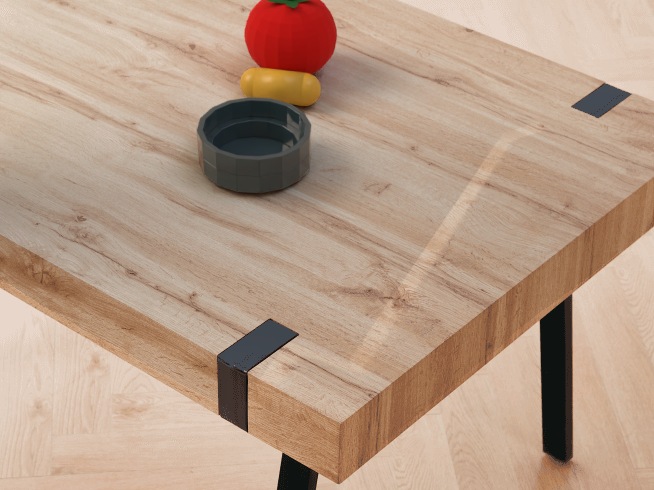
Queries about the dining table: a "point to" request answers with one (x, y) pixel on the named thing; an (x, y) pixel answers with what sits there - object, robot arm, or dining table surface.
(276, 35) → the tomato
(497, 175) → the dining table surface
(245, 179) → the bowl
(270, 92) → the yellow capsule
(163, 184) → the dining table surface
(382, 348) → the dining table surface
